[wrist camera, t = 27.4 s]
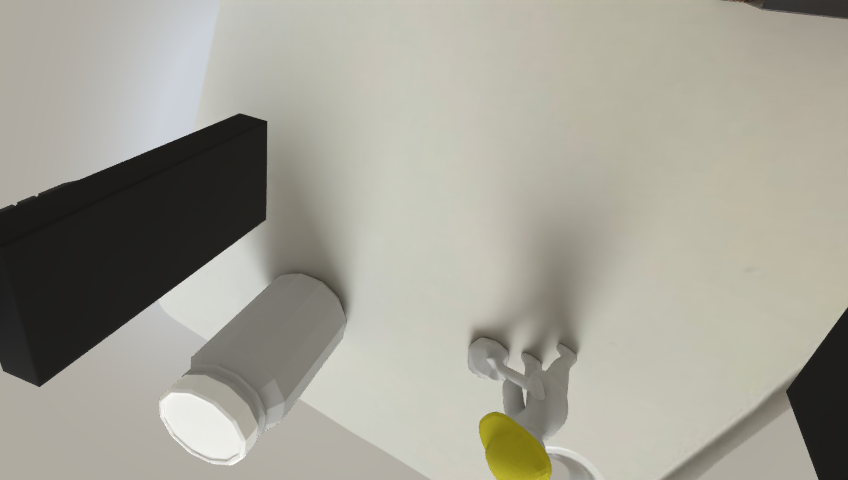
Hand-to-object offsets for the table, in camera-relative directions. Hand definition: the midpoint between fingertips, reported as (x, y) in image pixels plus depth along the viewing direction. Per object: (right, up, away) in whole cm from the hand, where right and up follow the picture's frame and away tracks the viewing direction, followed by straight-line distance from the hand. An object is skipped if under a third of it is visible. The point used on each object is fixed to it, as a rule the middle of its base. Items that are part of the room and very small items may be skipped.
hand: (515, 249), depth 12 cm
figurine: (+7, -10, +40) cm, 42 cm away
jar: (-14, -7, +46) cm, 49 cm away
